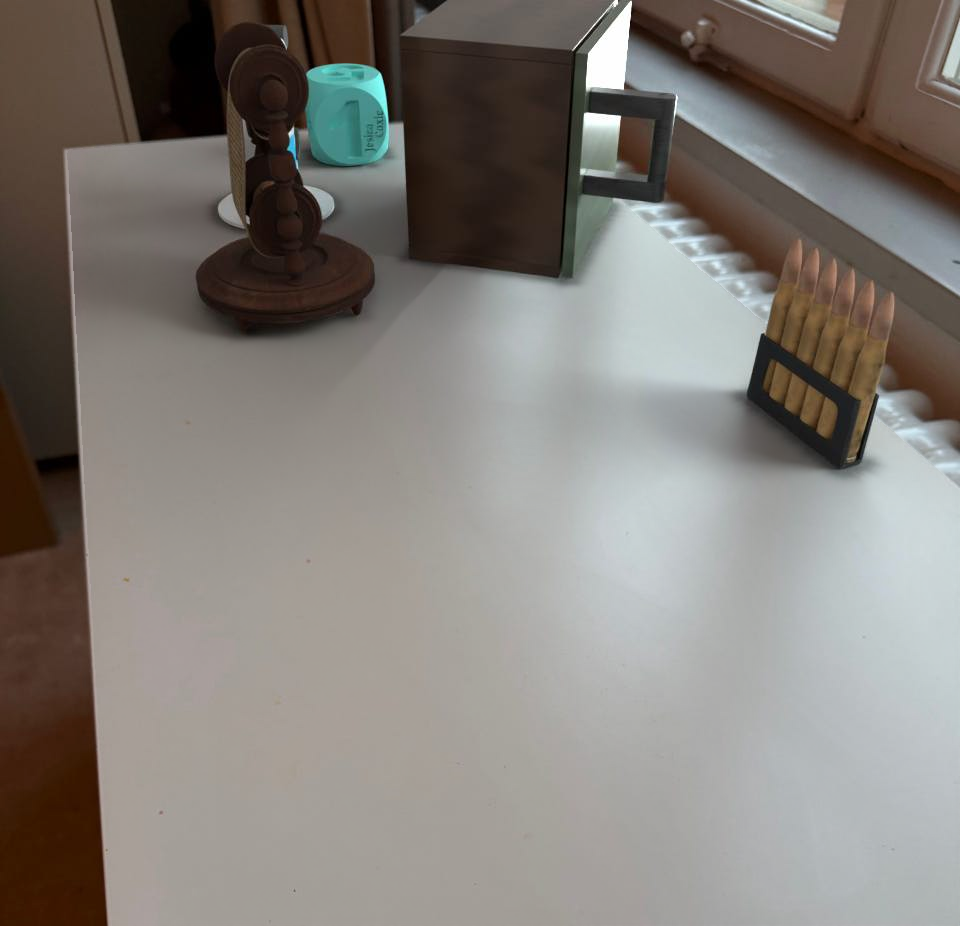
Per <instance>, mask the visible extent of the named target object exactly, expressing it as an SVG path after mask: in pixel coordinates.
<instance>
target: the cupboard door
mask: <svg viewBox="0 0 960 926" xmlns="http://www.w3.org/2000/svg"><path fill="white" fill-rule="evenodd" d="M631 12H632V0H618V1H617V5H616V6H615V7H614V8H613V9H612V11H611V12H610V13H609V14H608V15H607V17H606V18H605V19H604V20H603V21H602V22H601V24H600V25H599V26H598V27H597V28H596V30H595V31H594V32H593V33H592V34H591V36H590V37H589V38H588V39H587V40H586V42H585V43H584V44H583V45H582V46H581V47H580V49H579V50H578V51H577V52H576V57H575V73H574V89H573V105H572V121H571V137H570V153H569V169H568V185H567V200H566V216H565V232H564V248H563V264H562V273H561V278H566V279H573V278H574V276H575V274H577V271H578V269H579V268H580V265H581V263H582V262H583V260H584V258H585V256H586V254H587V252H588V251H589V248H590V247H591V245H592V243H593V241H594V239H595V238H596V236H597V233H598V232H599V230H600V228H601V226H602V224H603V222H604V221H605V218H606V217H607V215H608V214H609V211H610V210H611V207H612V206H613V203H614V199H618V200H626V201H637V202H643V203H644V202H645V203H651V204H652V203H653V204H659V203H662V202H664V201H665V197H666V196H665V195H666V188H667V179H668V173H669V165H670V156H671V148H672V140H673V132H674V123H675V117H676V109H677V100H678V96H677V94H675V93H671V92H659V91H649V90H640V89H639V90H637V89H629V88H628V89H627V88H624V86H625V85H624V84H625V74H626V63H627V53H628V52H627V51H628V44H629V43H628V42H629V41H628V40H629V31H630V21H631ZM621 117H625V118H634V119H635V118H636V119H644V120H645V119H646V120H653V125H652V132H651V141H650V149H649V157H648V167H647V174H646V175H644V174H637V173H636V174H635V173H627V172H619V171H618V172H617V171H616V170H617V159H618V150H619V138H620V127H621Z"/></svg>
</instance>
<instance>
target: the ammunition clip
mask: <svg viewBox="0 0 960 926" xmlns="http://www.w3.org/2000/svg"><path fill="white" fill-rule="evenodd" d="M802 260H803V244H802V240H801V237H796V239H795V240H794V241H793V243H792V244H791V246H790V249H789V250H788V253H787V255H786V257H785V261H784V264H783V266H782V271H781V276H780V278H779V281H778V285H777V289H776V291H775V293H774V296H773V298H772V302H771V306H770V311H769V316H768V321H767V325H766V330H765V332H762V333H760V336H759V341H758V345H757V348H756V353H755V357H754V362H753V365H752V370H751V374H750V379H749V382H748V386H747V391H746V398H747V399H748V400H750V401H751V402H753V403H754V404H755V405H756V406H758V407H759V408H760V409H762V410H763V411H764V412H766V413H767V414H768V415H769V416H770V417H772V418H773V419H775V420H776V421H777V422H778V423H780V425H782V426H783V427H784V428H786V429H787V430H788V431H790V432H791V433H792V434H793V435H795V436H796V437H797V438H798V439H800V440H801V441H803V443H805V444H806V445H808V447H810V448H811V449H813V450H814V451H816V452H817V453H818V454H819V455H821V456H822V457H823V458H824V459H826V460H827V461H828V462H830V463H831V464H832V465H833V466H835V467H836V468H838V469H839V470H841V469H844V468H848V467H852V466H854V465H858V464H861V463H862V462H863V458H864V455H865V450H866V447H867V443H868V439H869V436H870V432H871V427H872V424H873V421H874V416H875V415H876V414H875V413H876V410H877V405H878V402H879V399H880V394H878V393H877V389H878V386H879V382H880V379H881V375H882V372H883V369H884V366H885V362H886V352H887V347H888V342H889V338H890V337H889V336H890V333H891V329H892V325H893V321H894V316H895V315H894V314H895V295H894V291H892V290H890V291H888V292H887V294H886V295H885V296H884V297H883V298H882V300H881V301H880V304H879V305H878V307H877V310H876V312H875V314H874V316H873V319H872V321H871V318H872V315H873V310H874V302H875V284H874V280H873V279H869V280H868V281H867V282H866V283H865V284H864V286H863V288H862V289H861V291H860V292H859V295H858V296H857V298H856V301H855V303H854V306H853V302H854V298H855V289H856V277H855V270H854V268H853V267H852V268H849V269H848V270H847V272H846V273H845V274H844V276H843V278H842V280H841V281H840V283H839V286H838V287H837V290H836V286H837V277H838V275H837V273H838V271H837V270H838V269H837V266H838V265H837V260H836V258H835V257H831V258H830V259H829V261H828V262H827V264H826V265H825V267H824V269H823V271H822V272H821V275H820V277H819V272H820V254H819V250H818V247H814V248H812V250H811V251H810V252H809V254H808V256H807V258H806V260H805V262H804V264H803V266H802V263H803V261H802ZM818 279H819V280H818ZM852 307H853V308H852ZM870 323H871V324H870Z"/></svg>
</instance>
